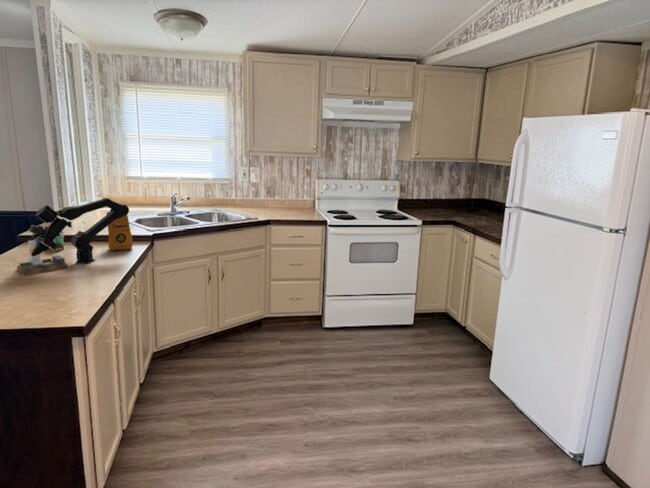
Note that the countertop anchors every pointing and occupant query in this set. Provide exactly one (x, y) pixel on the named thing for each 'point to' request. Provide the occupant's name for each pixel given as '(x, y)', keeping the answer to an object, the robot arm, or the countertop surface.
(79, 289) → the countertop surface
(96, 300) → the countertop surface
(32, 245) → the sliding jaw
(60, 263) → the base
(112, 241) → the coffee package
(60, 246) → the food container
